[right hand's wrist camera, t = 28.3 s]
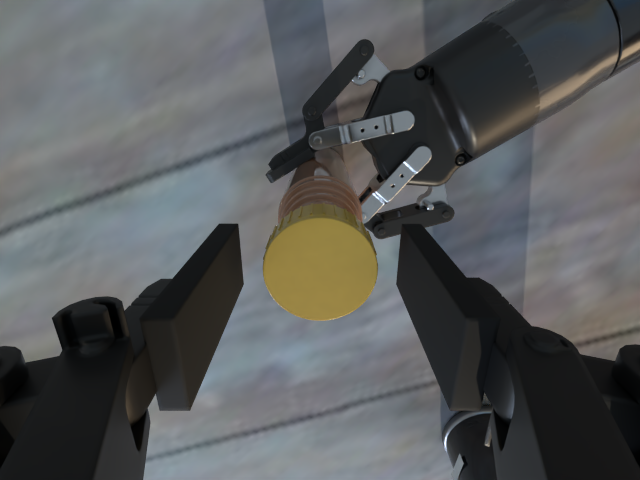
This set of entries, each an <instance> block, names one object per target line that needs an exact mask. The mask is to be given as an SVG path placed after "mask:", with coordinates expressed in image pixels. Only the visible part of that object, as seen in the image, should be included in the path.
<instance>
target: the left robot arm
mask: <svg viewBox="0 0 640 480" xmlns="http://www.w3.org/2000/svg"><path fill="white" fill-rule="evenodd" d="M639 61H640V0H514V1H513V2H511V3H509V4H508V5H506V6H505V7H503V8H502V9H500V10H499V11H496V12H493V13H491V14H489V15H488V16H487V17H485V18H484V19H483V20H482V22H480V23H478V24H477V25H475V26H474V27H472V28H471V29H469V30H468V31H466V32H465V33H463V34H461V35H460V36H458V37H457V38H455V39H454V40H452V41H451V42H449V43H447V44H446V45H444V46H443V47H441V48H440V49H438V50H437V51H435V52H434V53H432V54H430V55H429V56H427V57H426V58H424V59H423V60H421V61H420V62H418V63H416V64H415V65H413V66H412V67H410V68H408V69H403V70H393V71H391V72H390V70H389V69H388V68H387V67H386V66H385V65H384V64H383V63H382V62H381V60H380V59H379V58H378V57H377V56H376V55H375V54H374V46H373V44H372V43H371V42H370V41H369V40H366V39H363V40H360V41H359V42H358V43H357V44H356V45H355V46H354V47H353V49H352V50H351V51H350V52H349V53H348V54H347V56H346V57H345V58H344V59H343V60H342V61H341V63H340V64H339V65H338V66H337V67H336V68H335V70H334V71H333V72H332V73H331V74H330V75H329V77H328V78H327V79H326V80H325V81H324V82H323V84H322V85H321V86H320V87H319V88H318V89H317V91H316V92H315V93H314V94H313V95H312V96H311V98H310V99H309V100H308V101H307V102H306V103H305V105H304V106H303V110H302V112H303V116H304V120H305V125H306V134H305V136H304V137H303V138H301V139H300V140H298V141H297V142H295V143H294V144H292V145H291V146H289V147H287V148H286V149H284V150H283V151H281V152H280V153H278V154H277V155H275V156H274V157H273V158H272V160H271V161H270V163H269V164H268V165H269V166H270V168H271V170H269V171H268V172H267V174H266V176H267V178H268V179H269V181H270V182H271V183H273V182H275V181H276V180H278V179H279V178H281V177H283V176H284V175H286V174H287V173H289V172H291V171H292V170H294V169H295V168H297V167H299V166H300V165H302V164H303V163H305V162H307V161H308V160H310V159H311V158H313V157H315V152H316V151H318V150H321V149H325V148H329V147H333V146H338V145H342V144H349V143H354V142H358V141H361V142H362V144H363V146H364V147H365V148H366V149H367V150H368V151H369V152H370V153H371V154H372V158H373V162H374V166H375V167H376V169H377V171H378V173H377V174H376V175H375V176H374V177H373V178H372V180H371V181H370V182H369V184H368V186H367V187H366V189H365V190H364V191H363V192H362V193H361V194H360V195H359V196H358V199H359V201H360V204H361V208H362V219H363V224H364V226H365V227H366V228H367V229H369V230H370V231H371V232H372V233H373V234H374V236H375V237H376V238H378V239H384V238H388V237H392V236H396V235H399V234H401V228H402V224H421V225H422V226H423V227H424V228H426V227H429V226H433V225H437V224H441V223H444V222H448V221H450V220H451V219H452V218H453V217H454V210H453V208H451V207H450V206H449V204H448V200H447V194H446V188H445V183H446V182H447V181H448V180H449V179H450V177H451V176H452V174H453V173H454V172H455V171H456V170H457V169H458V168H459V167H461V166H463V165H465V164H467V163H469V162H471V161H473V160H474V159H476V158H478V157H480V156H481V155H483V154H485V153H487V152H488V151H490V150H492V149H494V148H496V147H497V146H499V145H501V144H503V143H504V142H506V141H508V140H510V139H511V138H513V137H515V136H517V135H518V134H520V133H522V132H524V131H525V130H527V129H529V128H531V127H533V126H534V125H536V124H538V123H540V122H541V121H543V120H545V119H547V118H548V117H550V116H552V115H554V114H555V113H557V112H559V111H561V110H562V109H564V108H566V107H567V106H569V105H570V104H572V103H573V102H575V101H576V100H578V99H579V98H580V97H582V96H583V95H584V94H586V93H587V92H588V91H590V90H591V89H592V88H594V87H596V86H597V85H599V84H600V83H602V82H604V81H606V80H607V79H609V78H611V77H613V76H614V75H616V74H618V73H620V72H621V71H623V70H625V69H627V68H628V67H630V66H632V65H634V64H635V63H637V62H639ZM369 80H374V81H376V82H377V83H378V84H377V86H376V89H375V91H374V93H373V96H372V98H371V100H370V102H369V105H368V107H367V109H366V112H365V114H364V116H363V117H362V118H358V119H354V120H350V121H346V122H342V123H339V124H335V125H331V126H327V127H324V123H323V118H322V113H323V112H324V111H325V110H326V109H327V107H328V106H329V105H330V104H331V103H332V102H333V101H334V100H335V98H336V97H337V96H338V95H339V94H340V93H341V92H342V90H343V89H344V88H345V87H346V86H347V85H348V84H349V83H350V81H351V82H352V83H353V84H355V85H363V84H365V83H366V82H367V81H369ZM392 184H393V186H391V185H392ZM405 185H418V186H429V188H428V190H427V191H426V192H425V193H424V194H422V195H420V196H419V197H418V198H417V201H416V203H414V204H411V205H407V206H403V207H400V208H396V209H393V210H389V211H385V212H382V213H377V211H378V210H379V209H380V208H381V207H382V206H383V205H384V204H387V203H388V202H390V201H391V200H392V199H393V198H394V196H395V195H396V194H397V193H398V192H399V191H400V190H401V189H402V188H403V187H404V186H405ZM492 408H493V406H481V409H480V411H462V412H460V413H458V414H457V415H455V416H454V417H453V418H452V419H451V420H450V421H449V422H448V423H447V425H446V426H445V428H444V430H443V434H442V441H443V444H444V447H445V450H446V452H447V454H448V456H449V458H450V461H451V464H452V466H453V471H452V474H451V475H452V478H453V480H497V475H496V467H495V459H494V452H493V444H492V439H491V441H490V445H489V447H488V446H485V445H484V443H485V437H486V433H487V429H488V425H489V421H490V416H491V412H492Z"/></svg>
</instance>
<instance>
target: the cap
mask: <svg viewBox="0 0 640 480" xmlns="http://www.w3.org/2000/svg"><path fill="white" fill-rule="evenodd" d="M376 255H377V253H376V251H375V248H374V245H373V242H372V239H371V237H370V234H369V232H368V231H366V229H365V226H364V224H363V222H360V221H359V220H358V219H357V217H356V215H355V214H354V215H353V214H351V213H350V212H348V211H347V209H342V208H340V207H337V206H336V205H334V206H333V205H328V204H325V203H323V204H313V203H311V205H307V206H303V207H302V206H300V208H298V209H296V210H294V211H293V212H292V211H290V213H289V214H288V215H287V216H285V217H284V218H283V217H282V218H281V221H280V223H279V224H278V225H277V226H275V227H274V230H273V233H272V235H270V238H269V241H268V243H267V246H266V252H265V255H264V257H263V260H264V261H263V276H264V281H265V284H266V287H267V289H268V291H269V293H270V294H271V296H272V297H273V299H274V300H275V301H276V302H277V303H278V304H279V305H280V306H281V307H282V308H284V309H285V310H287V311H288V312H290V313H292V314H294V315H296V316H298V317H301V318H305V319H309V320H332V319H336V318H339V317H342V316H345V315H347V314H349V313H351V312H353V311H354V310H356V309H357V308H358V307H359V306H361V305H362V304H363V303H364V302H365V301H366V299H367V298H368V297H369V295H370V294H371V292H372V290H373V288H374V286H375V283H376V279H377V272H378V264H377V259H376Z"/></svg>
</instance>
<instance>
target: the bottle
mask: <svg viewBox="0 0 640 480" xmlns="http://www.w3.org/2000/svg"><path fill="white" fill-rule="evenodd" d="M311 203H313V204H323V203H325V204H328V205H333V206H334V205H336V206H337V207H340V208H342V209H347V211H348V212H350V213H351V214H353V215H354V214H355V215H356V217H357V219H358V220H359V221H360V222H363V219H362V208H361V204H360V201H359V199H358V196H357V194H356V191H355V189H354V186H353V184H352V181H351V179H350V176H349V174H348V172H347V169H346V167H345V164H344V162H343V159H342V158H341V156H340V155H339V154H338V153H337V152H336V151H335V150H333V149H331V148H325V149H321V150H318V151H316V152H315V157H313V158H311V159H310V160H308V161H307V162H305V163H303V164H302V165H300V166H299V167H297V168H295V169H294V171H293V173H292V175H291V178H290V180H289V183H288V185H287V188H286V190H285V193H284V195H283V198H282V200H281V203H280V206H279V212H278V224H279V223H280V221H281V218H282V217H283V218H284V217H285V216H287V215H288V214H289V213H290V211H292V212H293V211H294V210H296V209H298V208H300V206H302V207H303V206H307V205H311Z"/></svg>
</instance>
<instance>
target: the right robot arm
mask: <svg viewBox="0 0 640 480" xmlns="http://www.w3.org/2000/svg"><path fill="white" fill-rule="evenodd" d="M243 285H244V283H243V272H242V261H241V250H240V239H239V228H238V224H219V225H218V226H217V227H216V228H215V229H214V230H213V232H212V233H211V234H210V235H209V236H208V238H207V239H206V240H205V241H204V242H203V243H202V245H201V246H200V247H199V248H198V249H197V251H196V252H195V253H194V254H193V255H192V256H191V258H190V259H189V260H188V261H187V262H186V264H185V265H184V266H183V267H182V268H181V269H180V271H179V272H178V273H177V274H176V275H175V277H174V278H173V279H160V280H158V281H157V282H155V283H153V284H151V285H150V286H148V287H147V288H146V289H145V290H144V291H143V292H142V293H141V294H140V295H139V298H136V299H135V300H134V301H133V302H132V304H131V306H129V307H128V308H127V309H126V310H125V311H124V308H123V304H122V301H120V300H119V299H117V298H114V297H108V296H107V297H95V298H90V299H86V300H82V301H79V302H76V303H74V304H71V305H69V306H67V307H65V308H64V309H62V310H60V311H59V312H58V313H57V314H56V315H55V316H53V317H52V320H53V323H54V326H55V329H56V332H57V335H58V338H59V341H60V344H61V347H62V352H61V354H60V356H57V357H52V358H47V359H42V360H37V361H32V362H27V363H25V360H24V358H23V355H22V352H21V350H19V349H18V348H16V347H10V346H2V347H0V480H143V476H144V468H145V460H146V453H147V445H148V437H149V429H150V417H149V412H148V406H149V404H150V403H151V401H152V399H153V397H154V396H155V394H156V396H157V400H158V405H159V409H160V411H190V409H191V407H192V405H193V402H194V400H195V398H196V395H197V393H198V390H199V388H200V386H201V383H202V381H203V379H204V376H205V374H206V372H207V369H208V367H209V365H210V362H211V360H212V358H213V355H214V353H215V350H216V348H217V346H218V343H219V341H220V339H221V336H222V334H223V332H224V329H225V327H226V325H227V322H228V320H229V318H230V315H231V313H232V310H233V308H234V306H235V303H236V301H237V299H238V296H239V294H240V292H241V289H242V287H243ZM396 285H397V287H398V289H399V292H400V294H401V296H402V299H403V301H404V303H405V306H406V308H407V310H408V313H409V315H410V318H411V320H412V322H413V325H414V327H415V329H416V332H417V334H418V336H419V339H420V341H421V343H422V346H423V348H424V350H425V353H426V355H427V358H428V360H429V362H430V365H431V367H432V369H433V372H434V374H435V376H436V379H437V381H438V383H439V386H440V388H441V390H442V393H443V395H444V398H445V400H446V402H447V405H448V407H449V409H450V411H480V409H481V405H482V400H483V396H484V392H485V394H486V396H487V397H488V399H489V401H490V403H491V404H492V406H493V408H492V412H491V416H490V421H489V425H488V429H487V433H486V437H485V443H484V445H485V446H488V447H489V445H490V441H491V439H492V444H493V452H494V459H495V467H496V475H497V480H640V345H625V346H624V347H622V348H620V350H619V352H618V355H617V358H616V360H615V361H611V360H606V359H601V358H596V357H591V356H586V355H581V354H580V353H579V352H578V350H577V348H576V347H575V346H574V345H573V344H572V343H571V342H570V341H569V340H567V339H566V338H564V337H563V336H561V335H559V334H557V333H555V332H552V331H550V330H547V329H543V328H539V327H533V326H531V325H530V324H529V323H528V322H527V321H526V320H525V319H524V318H523V317H522V316H521V315H520V313H519V312H518V311H517V310H516V309H515V308H514V307H513V306H512V305H511V304H509V302H508V301H507V300H506V299H505V298H504V297H502V295H501V294H500V293H499V292H498V290H497V289H496V288H495V287H494V286H493V285H491V284H489V283H487V282H486V281H484V280H482V279H480V278H466V277H465V275H464V274H463V273H462V272H461V271H460V269H459V268H458V267H457V266H456V265H455V264H454V262H453V261H452V260H451V259H450V258H449V256H448V255H447V254H446V253H445V252H444V251H443V249H442V248H441V247H440V246H439V245H438V243H437V242H436V241H435V240H434V239H433V238H432V236H431V235H430V234H429V233H428V232H427V230H426V229H425V228H424V227H423V226H422V225H421V224H402V228H401V239H400V250H399V261H398V272H397V283H396Z"/></svg>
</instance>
